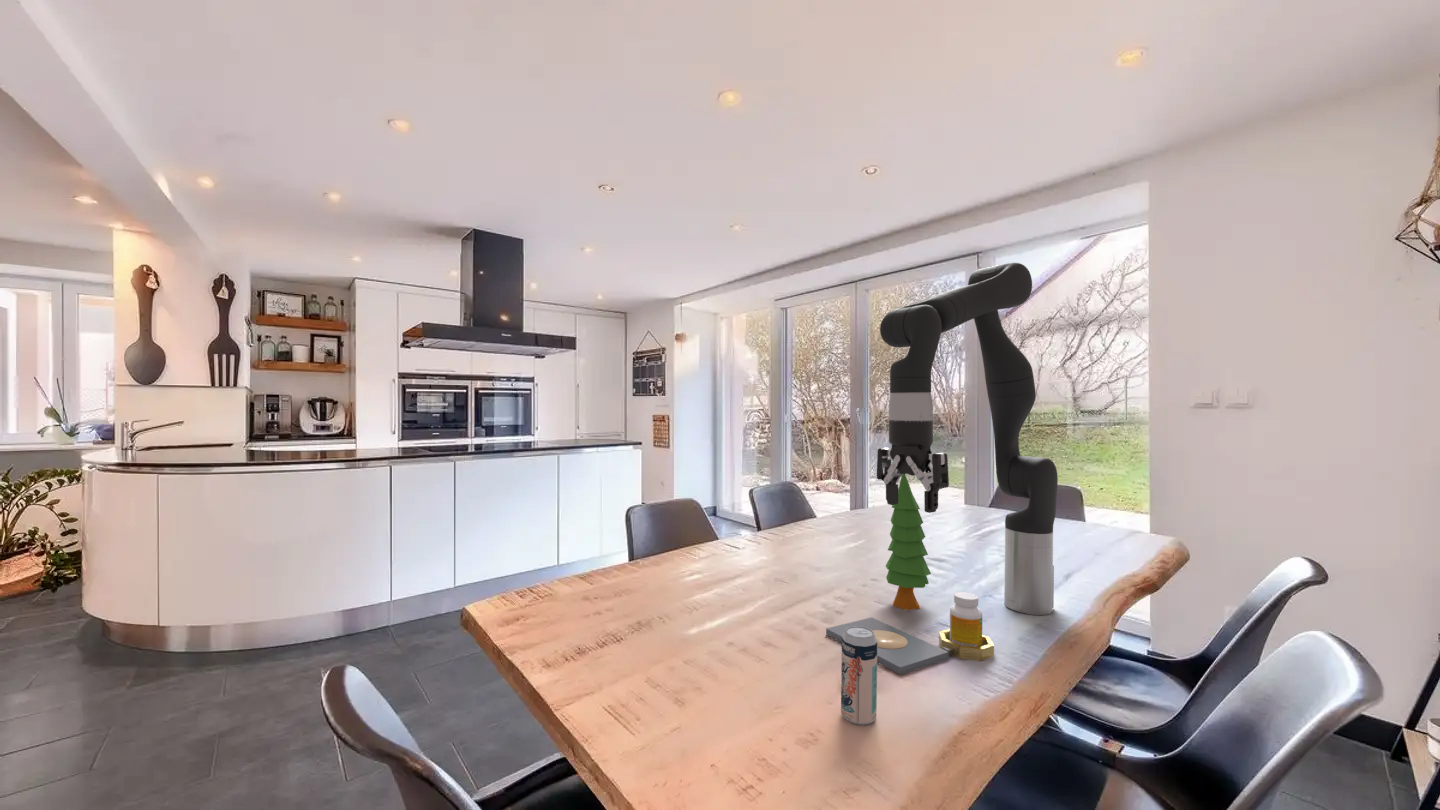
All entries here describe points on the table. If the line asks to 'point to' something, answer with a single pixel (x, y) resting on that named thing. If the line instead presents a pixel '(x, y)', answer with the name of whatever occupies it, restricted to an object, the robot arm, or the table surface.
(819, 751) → the table surface
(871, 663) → the beer can
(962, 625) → the supplement bottle
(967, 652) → the collar
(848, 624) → the board
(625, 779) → the table surface
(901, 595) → the decorative tree
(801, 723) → the table surface
